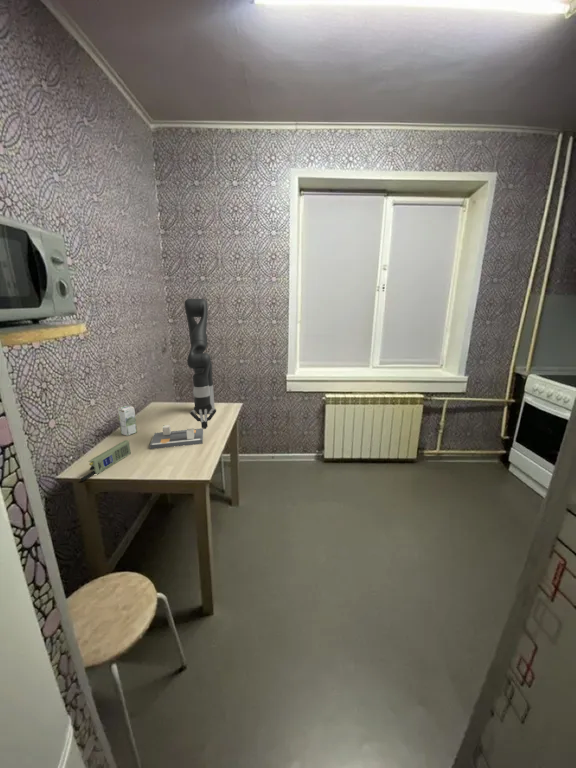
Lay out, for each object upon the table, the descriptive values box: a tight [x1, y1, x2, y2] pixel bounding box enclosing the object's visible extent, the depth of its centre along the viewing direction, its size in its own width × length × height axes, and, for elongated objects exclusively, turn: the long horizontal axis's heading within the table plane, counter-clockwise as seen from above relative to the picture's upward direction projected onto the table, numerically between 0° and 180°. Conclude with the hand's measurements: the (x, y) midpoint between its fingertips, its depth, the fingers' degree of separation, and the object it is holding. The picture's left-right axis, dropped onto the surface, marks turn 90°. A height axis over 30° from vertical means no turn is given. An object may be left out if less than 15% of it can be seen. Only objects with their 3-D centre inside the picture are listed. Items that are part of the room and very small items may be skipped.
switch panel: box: [149, 427, 204, 450], centre depth 158 cm, size 15×24×2 cm, turn 104°
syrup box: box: [117, 405, 138, 437], centre depth 165 cm, size 6×6×14 cm
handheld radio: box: [80, 439, 132, 482], centre depth 133 cm, size 7×3×25 cm
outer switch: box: [186, 427, 195, 439], centre depth 155 cm, size 4×3×4 cm
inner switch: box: [162, 424, 172, 435], centre depth 160 cm, size 4×3×4 cm
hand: (204, 428), depth 156 cm, fingers closed
